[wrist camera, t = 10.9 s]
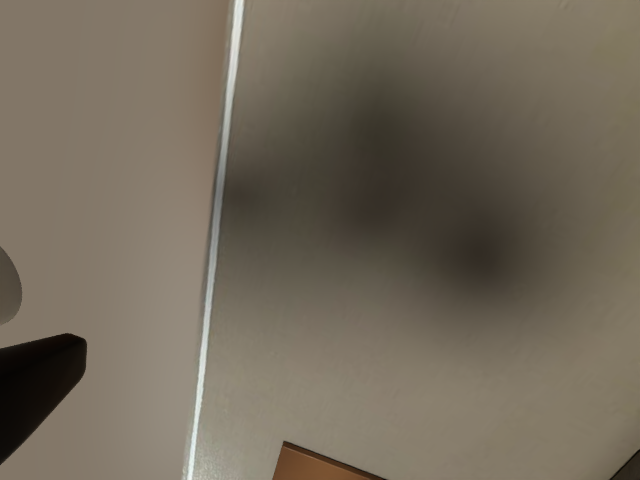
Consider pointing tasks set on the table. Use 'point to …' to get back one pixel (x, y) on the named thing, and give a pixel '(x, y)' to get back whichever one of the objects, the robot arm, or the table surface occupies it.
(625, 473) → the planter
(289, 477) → the coaster
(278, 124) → the table surface
